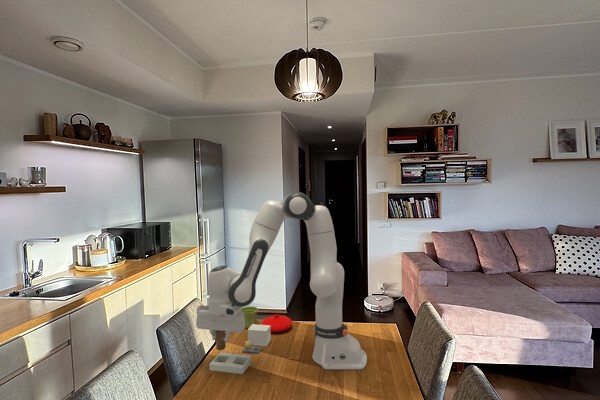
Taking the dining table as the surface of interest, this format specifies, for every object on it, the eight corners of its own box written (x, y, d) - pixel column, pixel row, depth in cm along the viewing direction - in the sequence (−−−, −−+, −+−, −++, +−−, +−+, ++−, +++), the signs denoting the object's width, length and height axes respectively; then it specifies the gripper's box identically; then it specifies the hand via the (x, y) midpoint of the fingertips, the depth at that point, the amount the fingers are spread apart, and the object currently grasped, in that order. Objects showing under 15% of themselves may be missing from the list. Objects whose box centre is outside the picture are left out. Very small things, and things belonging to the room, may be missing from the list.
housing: (270, 340, 151) (270, 325, 150) (266, 346, 145) (266, 331, 145) (252, 338, 153) (252, 324, 152) (248, 344, 147) (247, 329, 147)
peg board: (251, 361, 132) (251, 355, 132) (242, 374, 123) (242, 367, 123) (220, 358, 135) (220, 352, 135) (209, 370, 126) (209, 364, 126)
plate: (261, 349, 142) (261, 340, 142) (258, 354, 138) (258, 345, 138) (246, 347, 144) (246, 339, 144) (242, 352, 140) (242, 343, 140)
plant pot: (251, 320, 174) (250, 304, 173) (262, 325, 167) (261, 309, 167) (236, 326, 167) (236, 309, 167) (247, 331, 160) (246, 314, 160)
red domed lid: (255, 332, 159) (255, 318, 159) (270, 320, 174) (270, 307, 174) (284, 337, 153) (283, 323, 153) (297, 324, 168) (297, 311, 167)
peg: (227, 346, 131) (226, 326, 131) (222, 350, 128) (222, 330, 128) (218, 345, 132) (218, 326, 132) (214, 349, 129) (214, 329, 128)
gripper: (192, 307, 129) (193, 341, 129) (240, 311, 124) (240, 346, 125) (200, 302, 135) (201, 334, 135) (246, 305, 130) (247, 339, 131)
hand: (220, 340), depth 130 cm, fingers closed on peg, 4 cm apart
